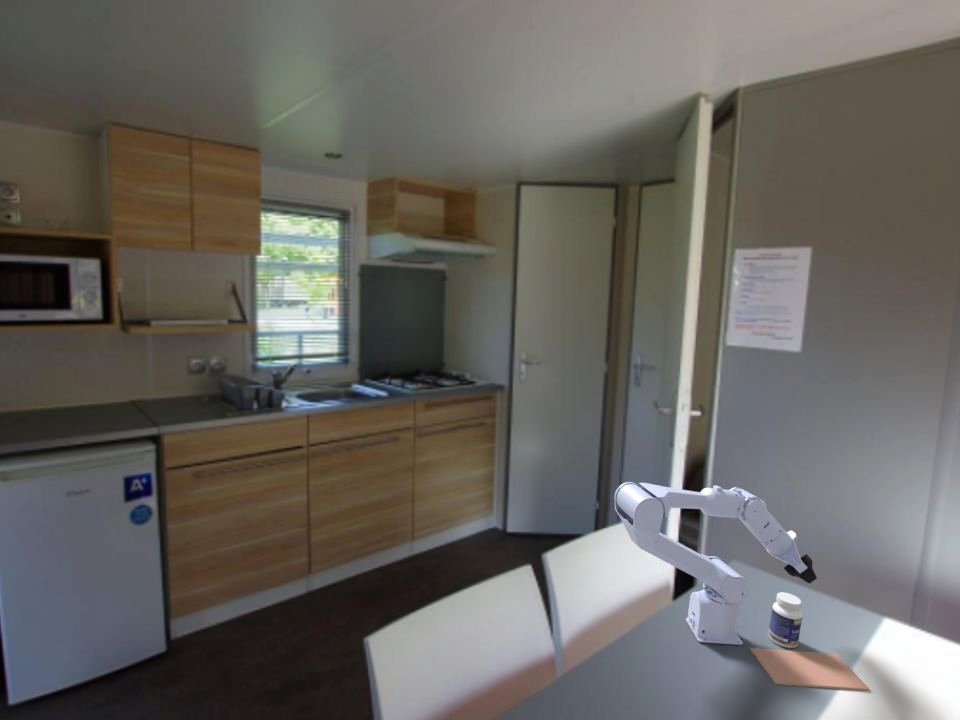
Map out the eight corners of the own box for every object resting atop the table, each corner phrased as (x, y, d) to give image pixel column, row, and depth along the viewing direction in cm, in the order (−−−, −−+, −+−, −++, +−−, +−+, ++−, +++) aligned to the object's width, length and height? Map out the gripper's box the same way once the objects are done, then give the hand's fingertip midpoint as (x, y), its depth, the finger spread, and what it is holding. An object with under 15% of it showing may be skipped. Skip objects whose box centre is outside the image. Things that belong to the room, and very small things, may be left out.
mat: (775, 684, 103) (775, 682, 103) (750, 649, 112) (750, 647, 112) (869, 691, 102) (869, 689, 102) (836, 655, 112) (836, 653, 112)
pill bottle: (796, 652, 112) (802, 609, 111) (765, 641, 116) (772, 598, 115) (799, 639, 117) (806, 597, 116) (770, 628, 120) (776, 587, 119)
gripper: (804, 541, 109) (838, 580, 112) (764, 501, 123) (796, 537, 126) (775, 561, 110) (810, 599, 114) (739, 520, 124) (771, 555, 127)
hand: (801, 568), depth 120 cm, fingers open, 7 cm apart
